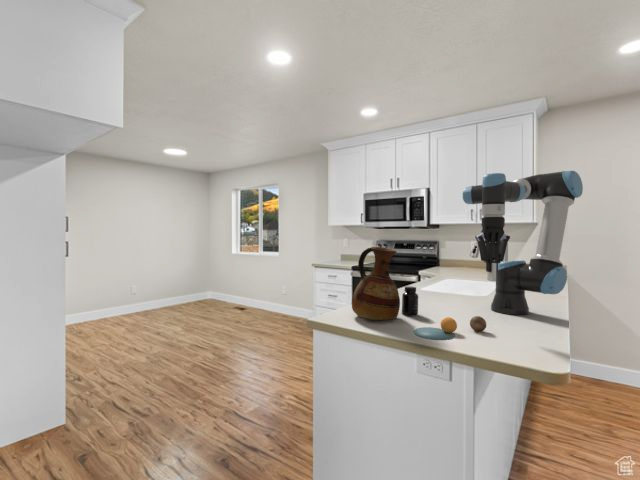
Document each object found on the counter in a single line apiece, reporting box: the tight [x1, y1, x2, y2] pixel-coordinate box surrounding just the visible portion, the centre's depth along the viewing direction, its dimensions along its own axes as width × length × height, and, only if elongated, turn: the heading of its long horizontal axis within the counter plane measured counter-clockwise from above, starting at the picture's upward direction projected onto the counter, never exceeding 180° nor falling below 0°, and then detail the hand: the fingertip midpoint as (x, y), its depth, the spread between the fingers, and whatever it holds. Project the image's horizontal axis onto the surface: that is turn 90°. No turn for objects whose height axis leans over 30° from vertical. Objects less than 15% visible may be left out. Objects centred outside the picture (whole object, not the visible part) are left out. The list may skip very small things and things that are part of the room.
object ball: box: [440, 316, 458, 333], centre depth 121 cm, size 6×6×6 cm
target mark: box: [412, 326, 455, 341], centre depth 120 cm, size 14×14×1 cm
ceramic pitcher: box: [351, 245, 401, 321], centre depth 141 cm, size 20×20×30 cm
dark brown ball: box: [469, 315, 487, 333], centre depth 123 cm, size 6×6×6 cm
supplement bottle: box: [401, 285, 419, 317], centre depth 147 cm, size 7×7×12 cm
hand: (491, 280), depth 124 cm, fingers closed
